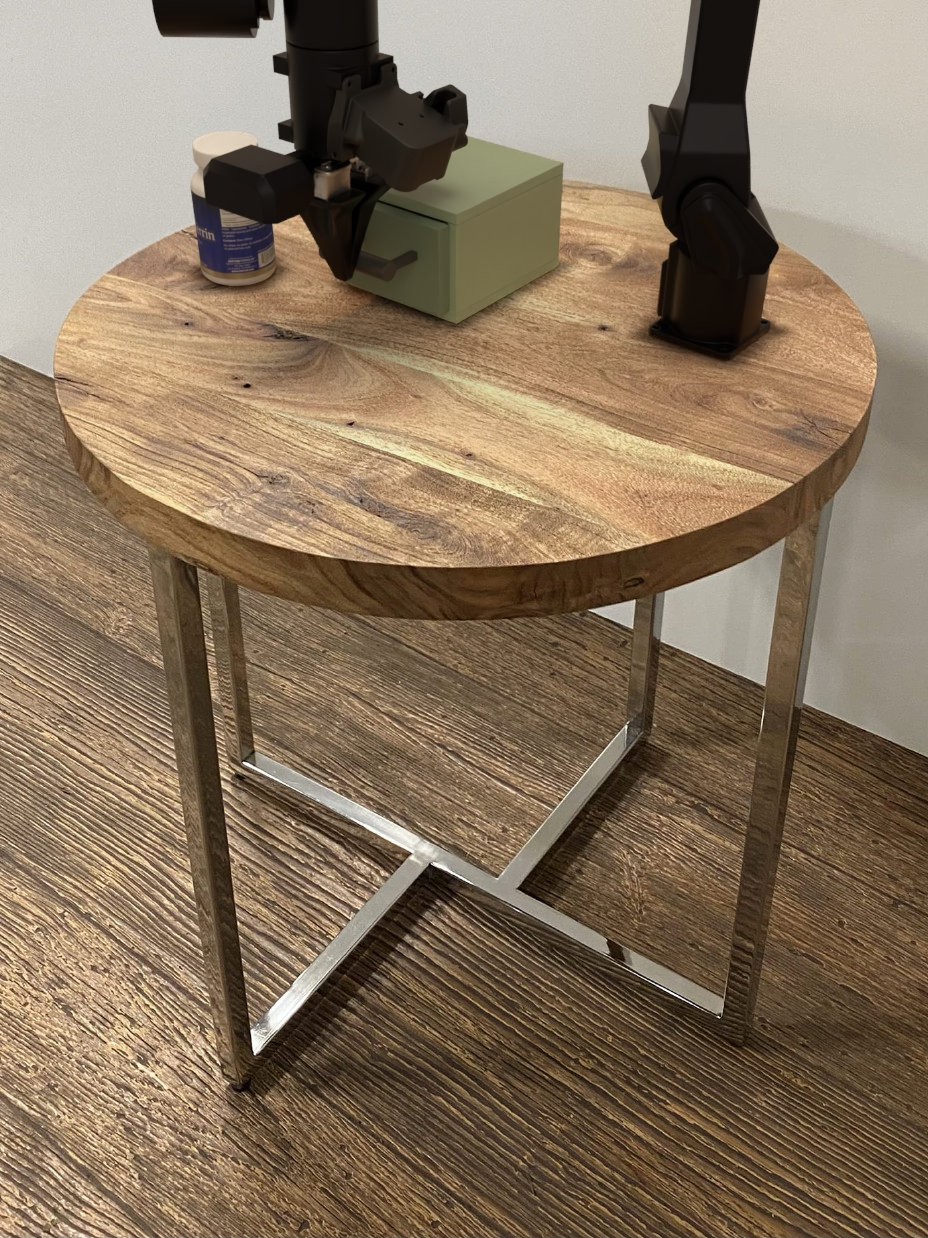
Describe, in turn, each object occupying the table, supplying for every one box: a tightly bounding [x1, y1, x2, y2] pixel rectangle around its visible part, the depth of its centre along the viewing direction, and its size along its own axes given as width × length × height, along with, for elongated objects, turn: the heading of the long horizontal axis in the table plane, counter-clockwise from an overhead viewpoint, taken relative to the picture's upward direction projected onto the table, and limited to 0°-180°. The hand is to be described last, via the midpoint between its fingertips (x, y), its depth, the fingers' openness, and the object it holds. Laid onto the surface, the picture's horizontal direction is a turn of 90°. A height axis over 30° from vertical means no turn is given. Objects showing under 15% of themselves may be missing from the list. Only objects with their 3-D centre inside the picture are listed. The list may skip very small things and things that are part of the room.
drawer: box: [318, 200, 450, 316], centre depth 95 cm, size 15×9×6 cm, turn 142°
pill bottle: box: [190, 130, 277, 287], centre depth 97 cm, size 6×6×10 cm
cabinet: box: [346, 135, 564, 325], centre depth 97 cm, size 13×11×8 cm
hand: (343, 278), depth 90 cm, fingers closed
